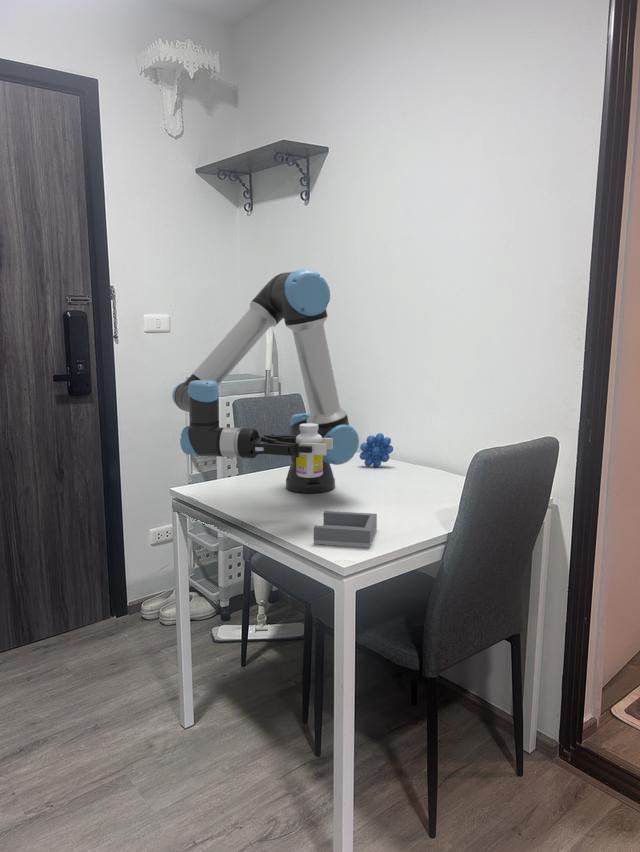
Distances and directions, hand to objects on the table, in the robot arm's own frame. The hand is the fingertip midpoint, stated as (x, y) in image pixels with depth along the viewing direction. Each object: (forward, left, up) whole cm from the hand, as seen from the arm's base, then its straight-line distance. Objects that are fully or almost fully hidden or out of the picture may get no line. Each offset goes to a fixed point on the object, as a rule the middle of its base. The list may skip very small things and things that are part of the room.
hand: (329, 446), depth 159 cm
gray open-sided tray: (+5, +8, -20) cm, 22 cm away
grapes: (-61, -24, -20) cm, 68 cm away
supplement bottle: (+2, -5, -8) cm, 9 cm away
